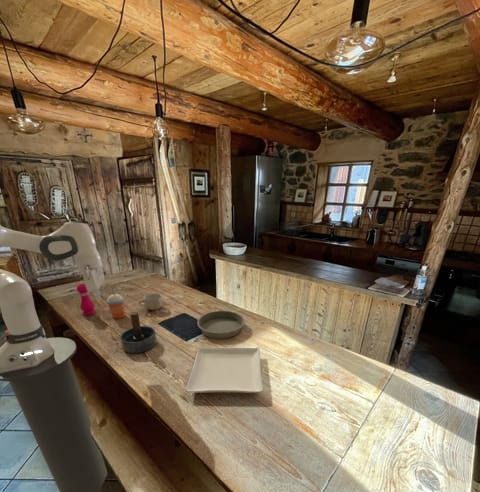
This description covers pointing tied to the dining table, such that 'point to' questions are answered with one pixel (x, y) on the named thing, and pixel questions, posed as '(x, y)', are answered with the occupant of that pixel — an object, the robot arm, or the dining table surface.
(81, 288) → the pepper mill
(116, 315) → the cup with straw
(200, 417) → the dining table surface
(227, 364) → the square plate
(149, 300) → the teacup
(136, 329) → the dark brown spice grinder
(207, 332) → the cake pan
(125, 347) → the bowl
